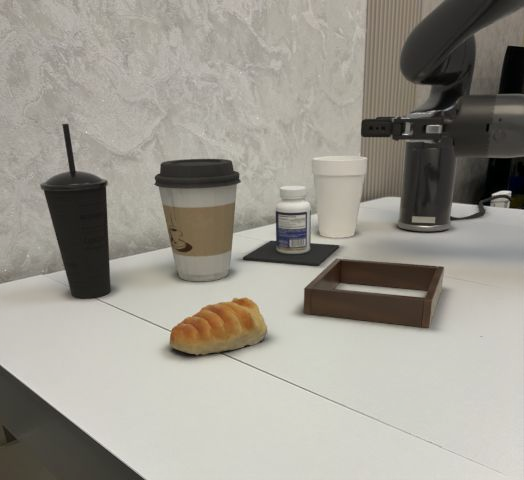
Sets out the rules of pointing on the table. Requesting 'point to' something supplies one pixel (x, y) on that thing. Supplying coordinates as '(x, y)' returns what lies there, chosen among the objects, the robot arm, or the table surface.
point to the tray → (375, 304)
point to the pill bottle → (293, 221)
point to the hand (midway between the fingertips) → (368, 126)
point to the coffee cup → (199, 215)
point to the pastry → (220, 328)
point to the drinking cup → (80, 226)
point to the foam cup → (338, 193)
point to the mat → (310, 258)
